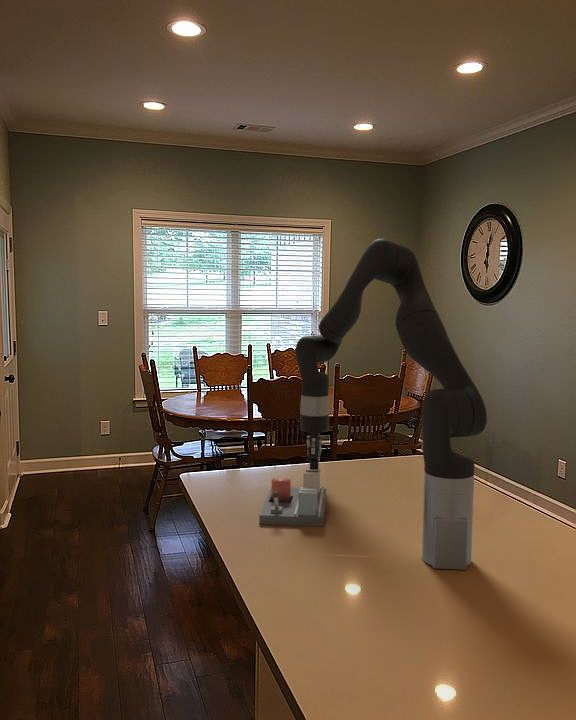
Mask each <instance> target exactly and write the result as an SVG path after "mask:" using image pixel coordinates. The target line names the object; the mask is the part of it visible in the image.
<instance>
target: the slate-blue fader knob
mask: <svg viewBox="0 0 576 720" xmlns="http://www.w3.org/2000/svg"><path fill="white" fill-rule="evenodd" d="M316 514H317V488H301V487H300V488H299V492H298V515H310V516H316Z"/></svg>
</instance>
